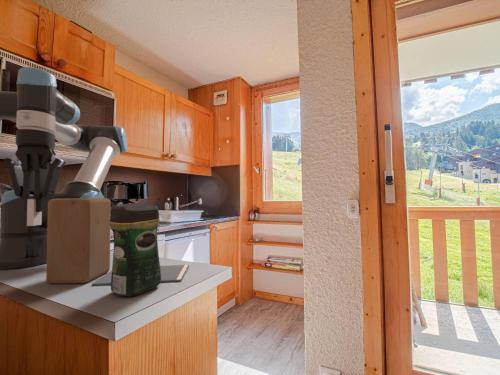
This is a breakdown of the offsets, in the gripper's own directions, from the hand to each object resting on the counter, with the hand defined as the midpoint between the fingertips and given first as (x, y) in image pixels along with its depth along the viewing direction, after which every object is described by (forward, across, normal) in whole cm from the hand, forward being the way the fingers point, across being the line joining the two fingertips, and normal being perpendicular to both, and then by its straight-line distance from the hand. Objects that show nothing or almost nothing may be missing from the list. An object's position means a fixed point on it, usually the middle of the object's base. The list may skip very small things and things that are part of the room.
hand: (34, 225), depth 61 cm
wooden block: (+14, +11, 0) cm, 17 cm away
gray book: (+13, +27, 0) cm, 30 cm away
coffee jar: (+13, +28, -10) cm, 33 cm away
